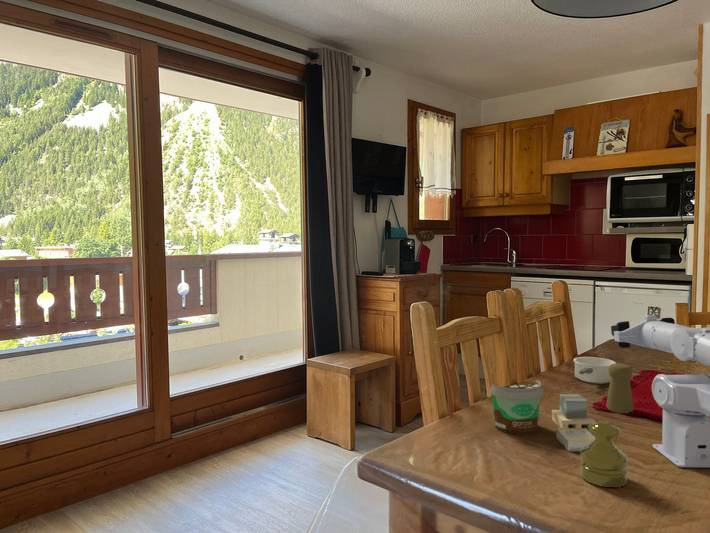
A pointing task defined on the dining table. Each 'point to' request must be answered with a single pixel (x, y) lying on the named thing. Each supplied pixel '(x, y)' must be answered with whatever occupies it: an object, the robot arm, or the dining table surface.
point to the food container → (517, 407)
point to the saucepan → (593, 369)
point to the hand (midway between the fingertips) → (629, 328)
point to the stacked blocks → (572, 412)
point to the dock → (574, 438)
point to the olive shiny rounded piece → (604, 457)
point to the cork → (620, 389)
